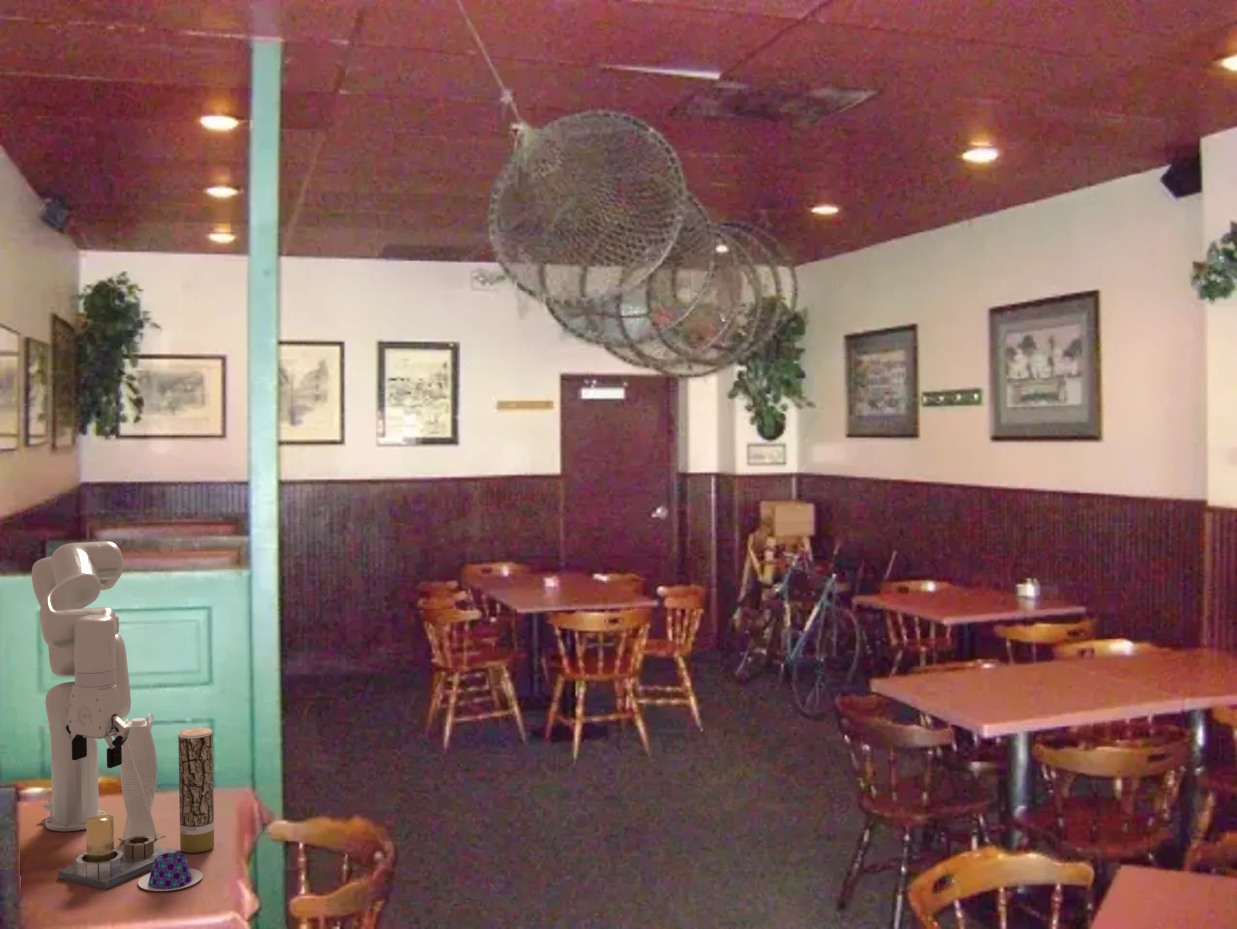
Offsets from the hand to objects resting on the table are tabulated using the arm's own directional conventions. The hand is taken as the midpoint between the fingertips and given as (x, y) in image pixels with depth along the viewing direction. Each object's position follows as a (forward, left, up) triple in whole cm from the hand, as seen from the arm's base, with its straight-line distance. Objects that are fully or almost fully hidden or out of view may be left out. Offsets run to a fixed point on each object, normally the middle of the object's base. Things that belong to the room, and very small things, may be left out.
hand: (96, 762), depth 254 cm
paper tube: (+8, +18, -22) cm, 30 cm away
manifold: (+2, +3, -22) cm, 23 cm away
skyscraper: (-7, +17, -23) cm, 29 cm away
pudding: (+16, +3, -23) cm, 28 cm away
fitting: (+2, -2, -21) cm, 21 cm away
